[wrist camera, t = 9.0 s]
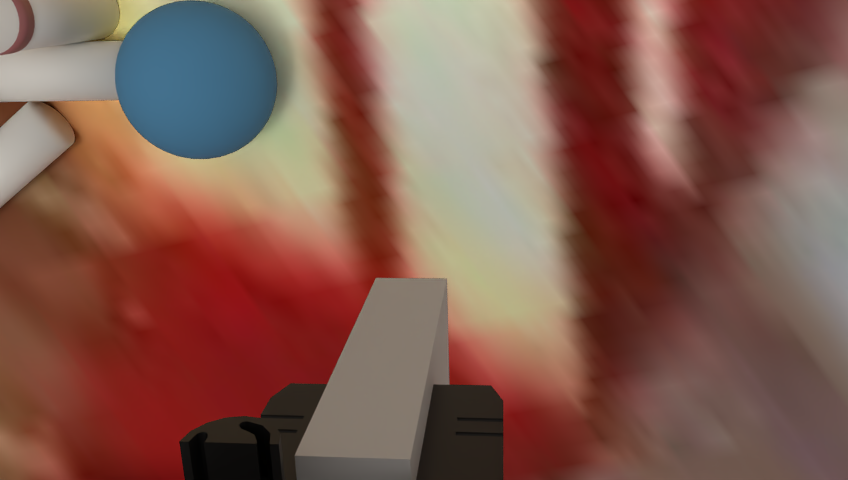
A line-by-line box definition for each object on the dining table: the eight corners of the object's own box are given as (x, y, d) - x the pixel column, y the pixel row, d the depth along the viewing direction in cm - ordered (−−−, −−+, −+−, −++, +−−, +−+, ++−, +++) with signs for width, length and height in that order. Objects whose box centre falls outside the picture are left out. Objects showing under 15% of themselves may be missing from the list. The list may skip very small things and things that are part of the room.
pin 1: (124, 40, 32) (-1, 60, 24) (68, 40, 32) (-75, 60, 24) (116, -22, 31) (-17, -23, 23) (59, -21, 32) (-92, -22, 24)
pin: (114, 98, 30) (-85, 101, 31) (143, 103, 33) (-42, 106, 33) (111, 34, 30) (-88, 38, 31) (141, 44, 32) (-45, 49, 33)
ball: (192, 195, 27) (76, 141, 29) (295, 165, 32) (189, 120, 34) (210, 26, 25) (81, -19, 27) (318, 22, 30) (202, -16, 32)
